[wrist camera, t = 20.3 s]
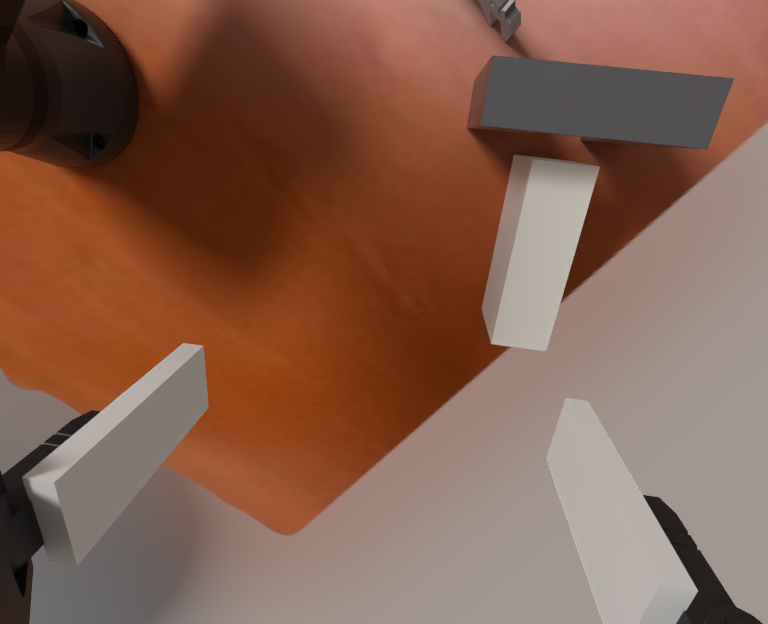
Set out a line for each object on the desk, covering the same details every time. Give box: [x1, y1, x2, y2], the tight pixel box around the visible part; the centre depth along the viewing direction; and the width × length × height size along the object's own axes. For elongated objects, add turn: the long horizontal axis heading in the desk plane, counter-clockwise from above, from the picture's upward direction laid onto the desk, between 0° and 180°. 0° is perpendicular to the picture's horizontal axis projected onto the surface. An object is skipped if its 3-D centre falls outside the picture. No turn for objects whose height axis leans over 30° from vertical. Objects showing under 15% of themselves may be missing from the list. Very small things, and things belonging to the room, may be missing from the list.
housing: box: [467, 56, 734, 149], centre depth 32 cm, size 14×4×12 cm, turn 84°
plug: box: [482, 155, 600, 351], centre depth 39 cm, size 5×18×8 cm, turn 174°
